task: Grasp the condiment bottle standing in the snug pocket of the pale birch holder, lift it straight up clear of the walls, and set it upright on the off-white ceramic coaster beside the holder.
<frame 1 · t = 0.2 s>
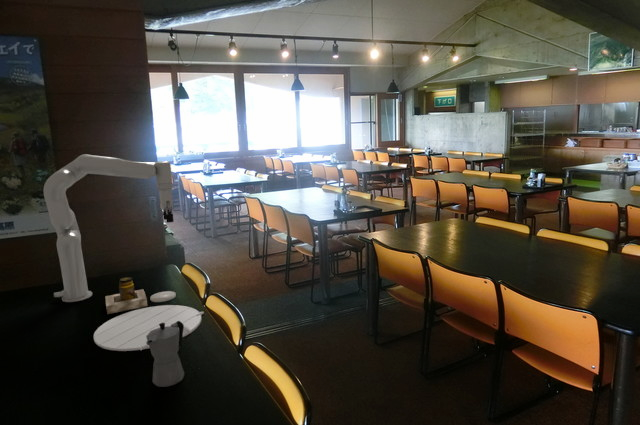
hand: (168, 220, 226), 31 cm above the table, tool pointing down, fingers open, 9 cm apart
condiment: (126, 305, 200), resting in holder
lazy susan: (150, 328, 176), on the table
coffeepot: (171, 377, 138), on the table
coaster: (163, 297, 207), on the table
holder: (126, 304, 200), on the table
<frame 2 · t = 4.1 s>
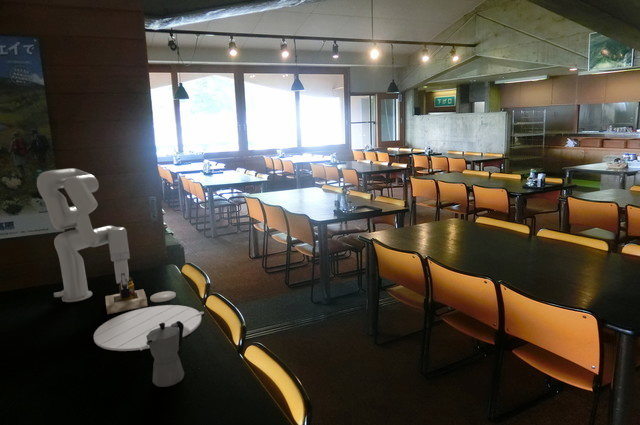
hand: (125, 294, 199), 5 cm above the table, tool pointing down, fingers closed on condiment, 6 cm apart
condiment: (126, 305, 200), resting in holder, touching gripper
everything else where it was.
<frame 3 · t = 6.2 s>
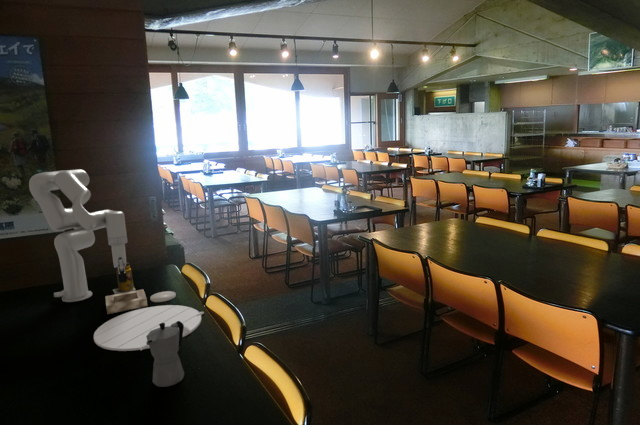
hand: (122, 279, 198), 12 cm above the table, tool pointing down, fingers closed on condiment, 6 cm apart
condiment: (124, 290, 199), point 7 cm above the table, touching gripper
everything else where it was.
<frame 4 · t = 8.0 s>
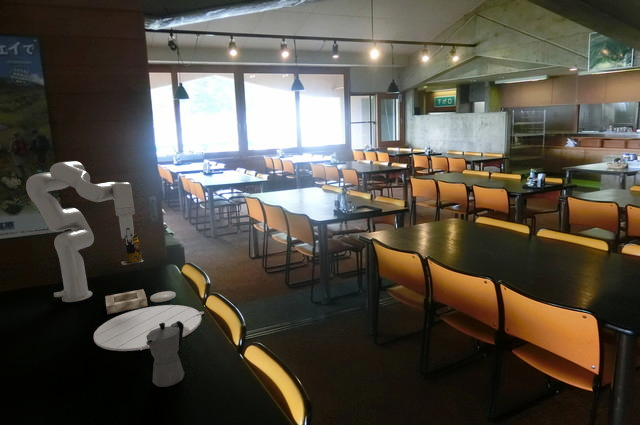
hand: (130, 251, 198), 24 cm above the table, tool pointing down, fingers closed on condiment, 6 cm apart
condiment: (132, 262, 198), point 19 cm above the table, touching gripper
everything else where it was.
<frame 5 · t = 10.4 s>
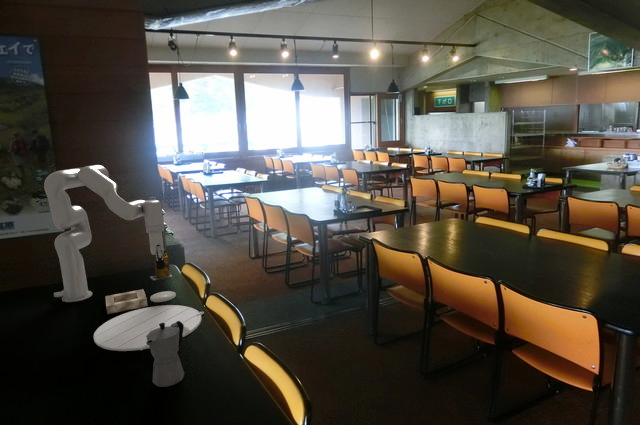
hand: (159, 266, 204), 15 cm above the table, tool pointing down, fingers closed on condiment, 6 cm apart
condiment: (161, 277, 205), point 10 cm above the table, touching gripper
everything else where it was.
when the fingers open (7 cm above the table, at t = 12.3 s): condiment drops 1 cm, resting on coaster.
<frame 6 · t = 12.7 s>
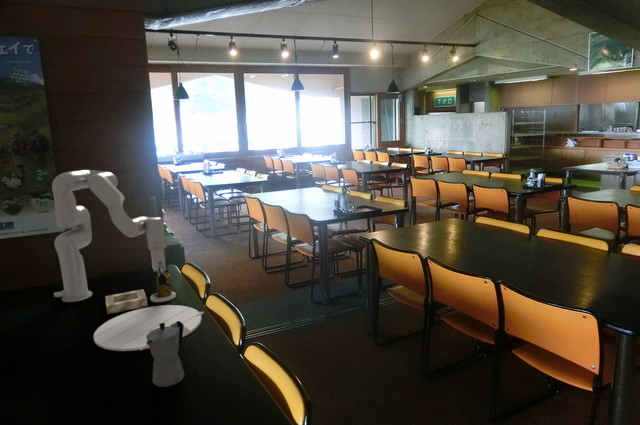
hand: (161, 281, 206), 8 cm above the table, tool pointing down, fingers open, 9 cm apart
condiment: (162, 295, 207), point 1 cm above the table, touching coaster
everything else where it was.
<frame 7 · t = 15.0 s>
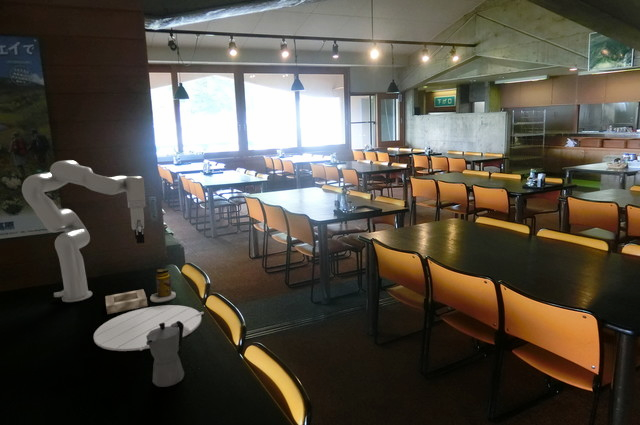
hand: (139, 240, 207), 26 cm above the table, tool pointing down, fingers open, 9 cm apart
nothing on the table moved.
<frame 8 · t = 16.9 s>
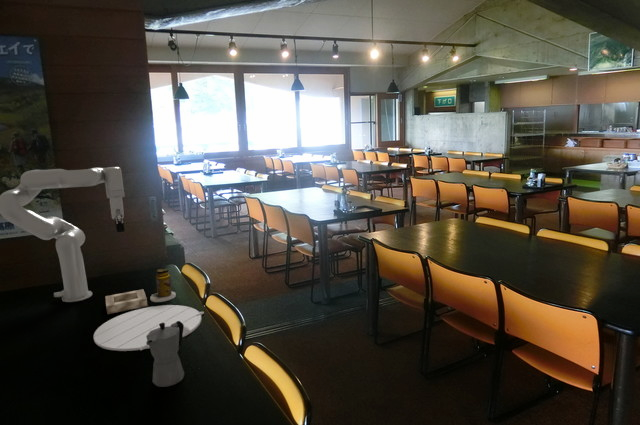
hand: (120, 229, 212), 30 cm above the table, tool pointing down, fingers open, 9 cm apart
nothing on the table moved.
at the end: condiment inside the target area on the coaster (0.3 cm from its centre), point 0.8 cm above the coaster's base; condiment tilted 0°; condiment touching coaster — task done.
